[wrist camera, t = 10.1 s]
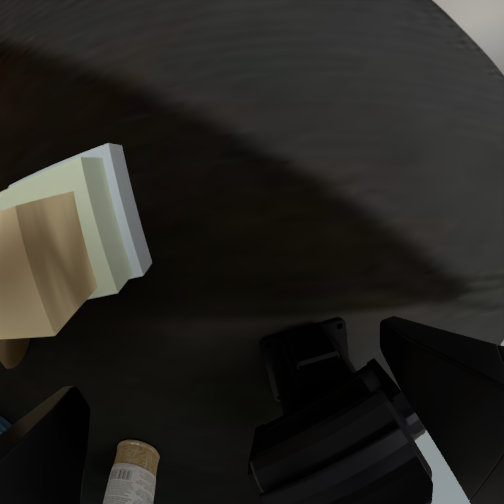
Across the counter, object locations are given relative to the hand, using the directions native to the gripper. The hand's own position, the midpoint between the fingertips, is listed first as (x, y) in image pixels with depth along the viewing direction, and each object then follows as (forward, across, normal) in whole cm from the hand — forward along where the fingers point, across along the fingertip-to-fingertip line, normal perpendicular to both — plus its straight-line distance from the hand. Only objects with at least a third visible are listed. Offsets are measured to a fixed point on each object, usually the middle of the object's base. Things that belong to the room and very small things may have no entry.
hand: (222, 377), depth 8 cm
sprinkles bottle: (+13, +14, +19) cm, 27 cm away
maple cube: (+8, +9, -4) cm, 12 cm away
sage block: (+11, +9, -4) cm, 14 cm away
